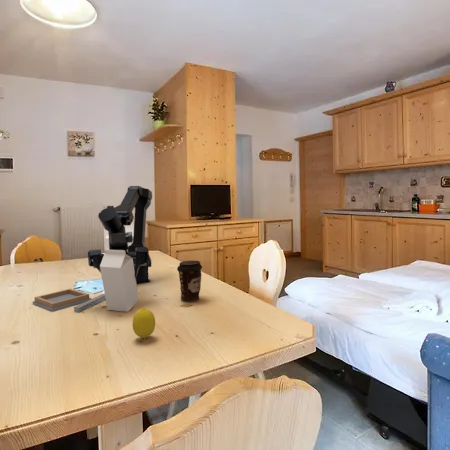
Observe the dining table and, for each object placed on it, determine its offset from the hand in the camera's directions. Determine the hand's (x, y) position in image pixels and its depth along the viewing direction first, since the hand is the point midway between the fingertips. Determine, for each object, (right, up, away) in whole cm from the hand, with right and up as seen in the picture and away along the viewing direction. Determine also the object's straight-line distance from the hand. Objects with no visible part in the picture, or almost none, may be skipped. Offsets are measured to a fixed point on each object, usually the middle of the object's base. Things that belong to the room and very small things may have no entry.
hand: (120, 278), depth 106 cm
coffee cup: (+21, -9, +9) cm, 25 cm away
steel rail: (-11, -10, +6) cm, 16 cm away
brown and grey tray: (-23, -10, +9) cm, 26 cm away
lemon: (+13, -12, -21) cm, 28 cm away
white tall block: (-24, -3, +80) cm, 83 cm away
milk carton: (0, -9, +2) cm, 10 cm away
